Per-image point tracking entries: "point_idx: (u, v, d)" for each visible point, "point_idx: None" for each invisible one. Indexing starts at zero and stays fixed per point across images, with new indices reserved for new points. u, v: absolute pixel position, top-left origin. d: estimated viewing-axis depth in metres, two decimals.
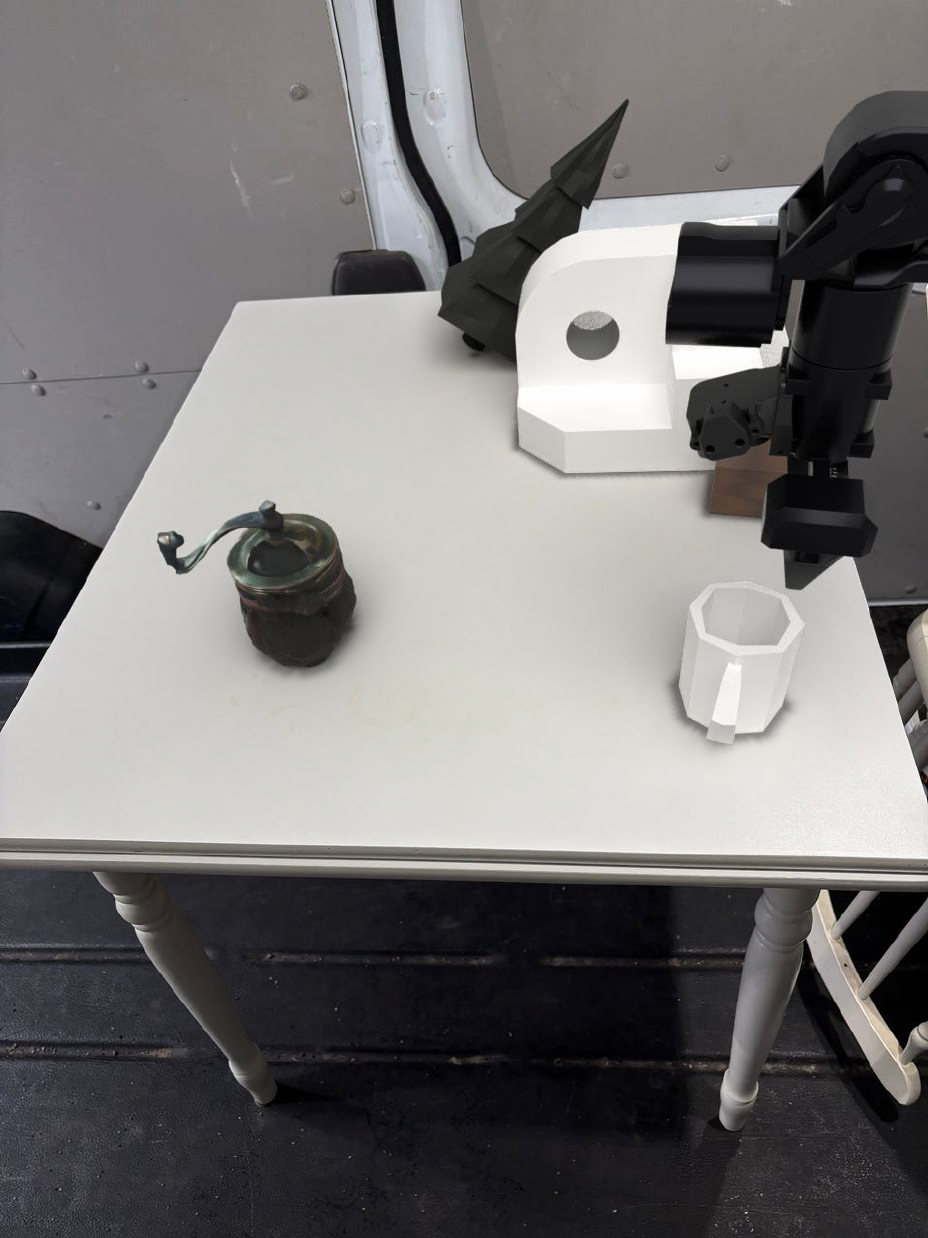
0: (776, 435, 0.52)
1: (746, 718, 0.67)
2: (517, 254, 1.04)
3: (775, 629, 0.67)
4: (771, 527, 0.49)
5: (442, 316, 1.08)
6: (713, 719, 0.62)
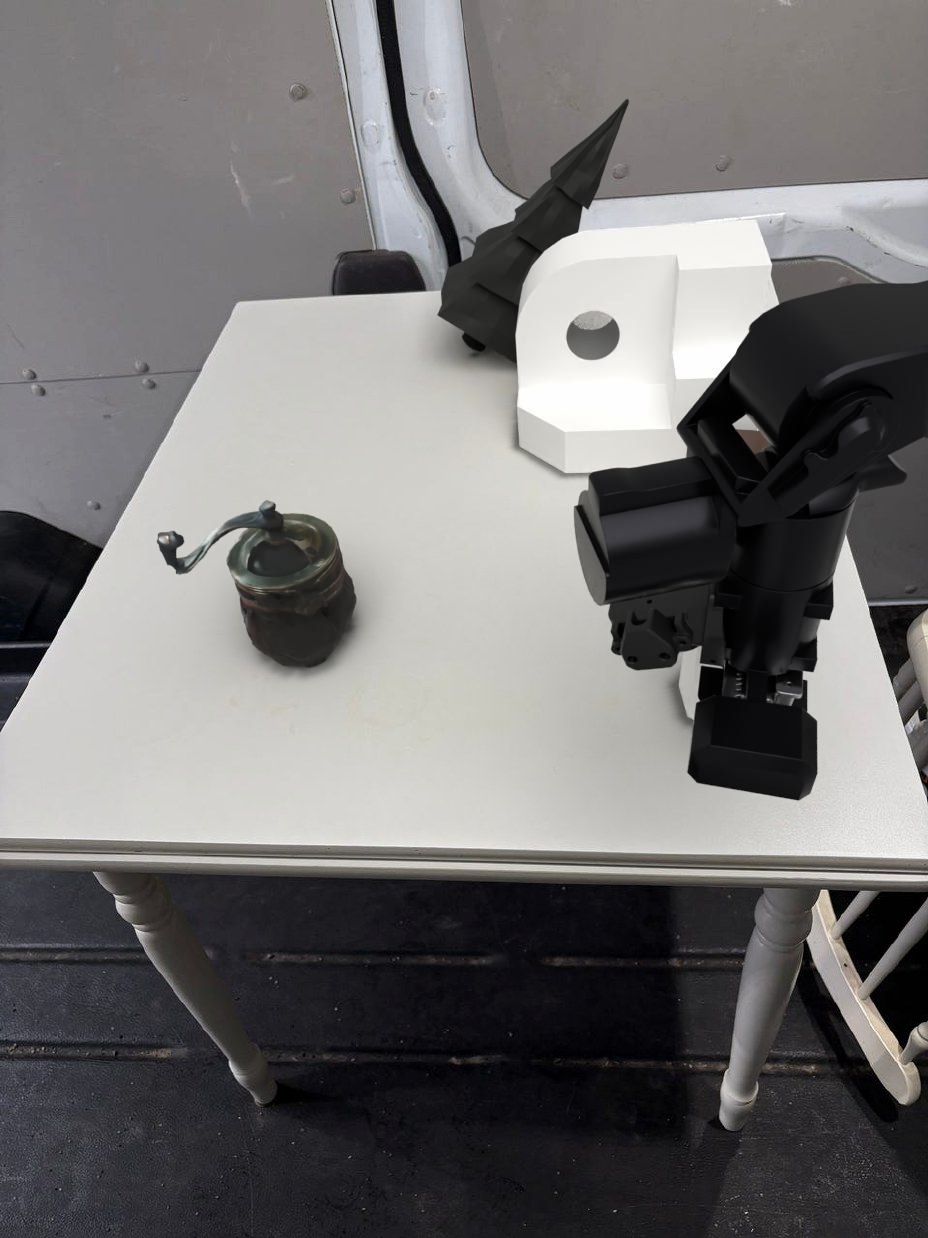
0: (706, 646, 0.46)
1: None
2: (517, 254, 1.04)
3: None
4: (697, 763, 0.43)
5: (442, 316, 1.08)
6: None
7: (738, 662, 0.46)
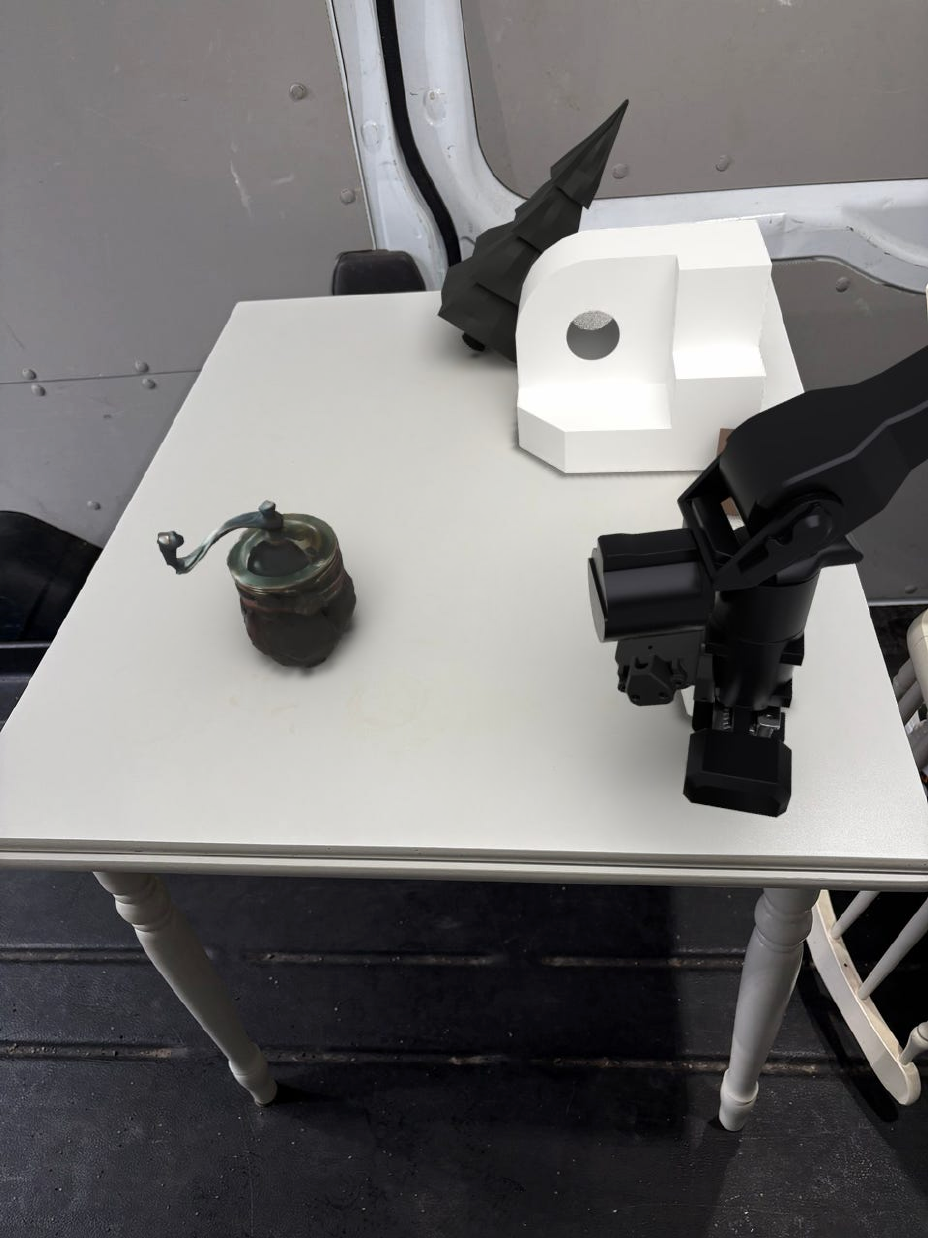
0: (699, 686, 0.54)
1: None
2: (517, 254, 1.04)
3: None
4: (691, 786, 0.51)
5: (442, 316, 1.08)
6: None
7: (725, 699, 0.54)
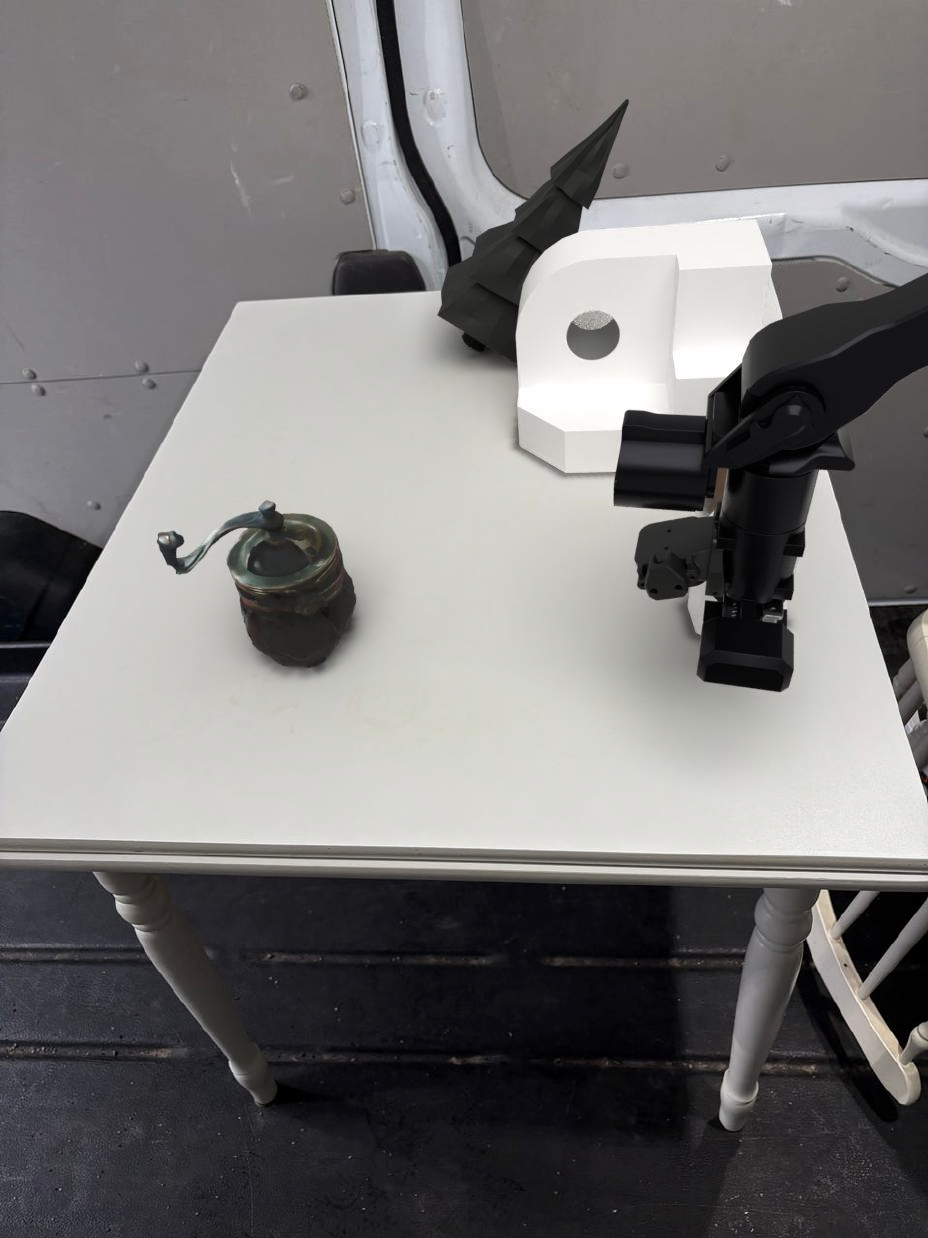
0: (710, 580, 0.60)
1: None
2: (517, 254, 1.04)
3: None
4: (704, 665, 0.57)
5: (442, 316, 1.08)
6: None
7: (734, 593, 0.61)
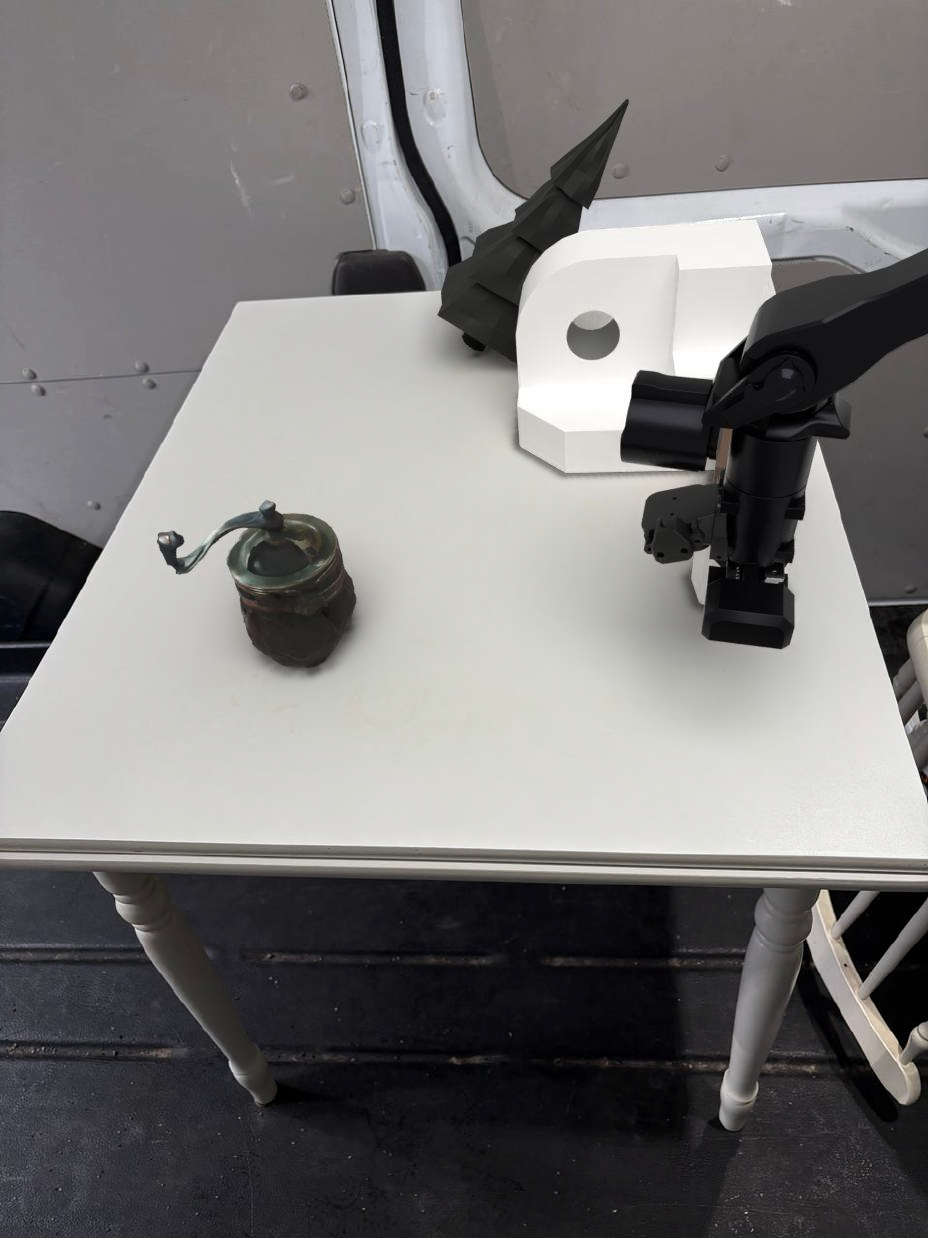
0: (714, 544, 0.62)
1: None
2: (517, 254, 1.04)
3: None
4: (709, 624, 0.60)
5: (442, 316, 1.08)
6: None
7: (737, 557, 0.63)
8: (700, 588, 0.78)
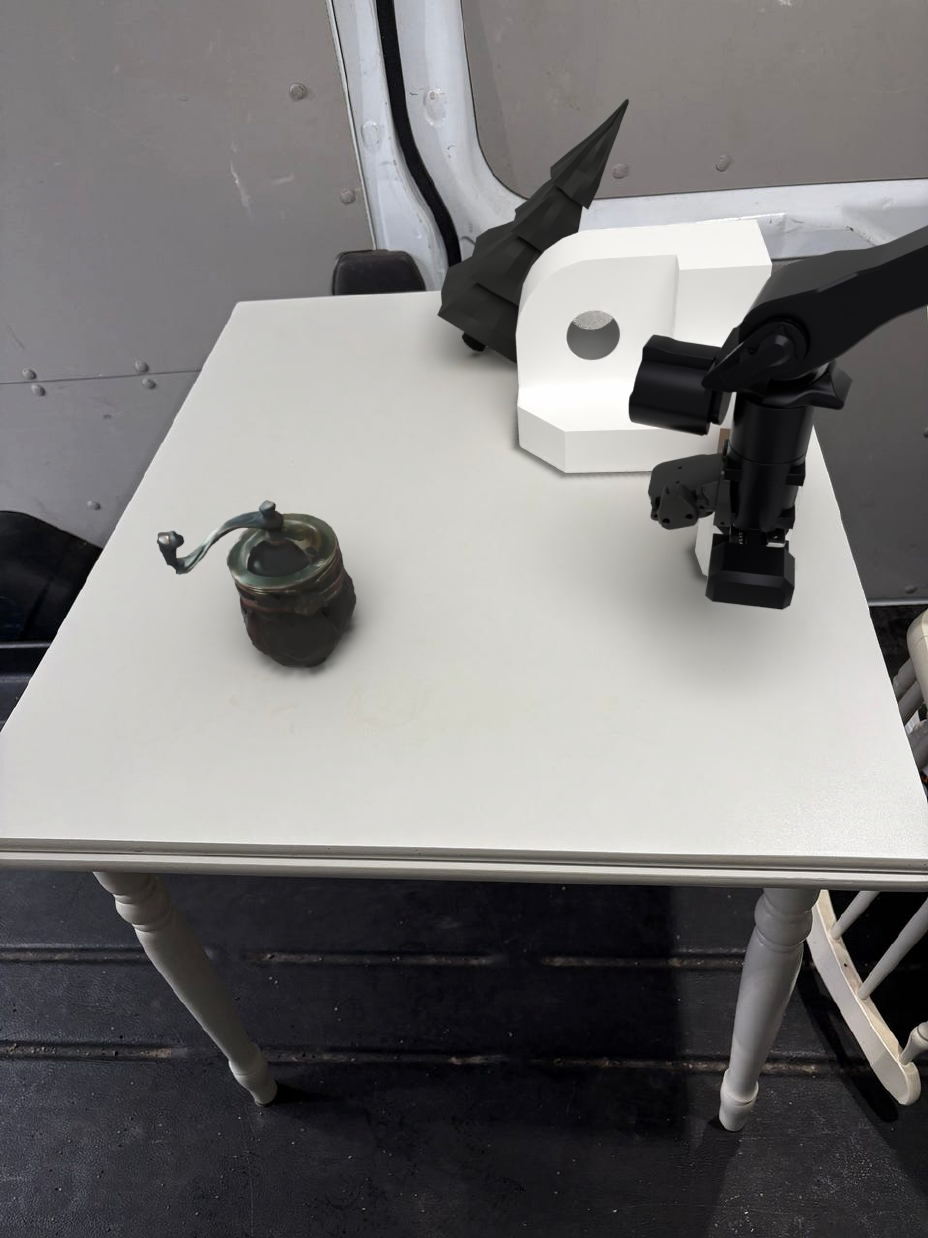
0: (718, 510, 0.65)
1: None
2: (517, 254, 1.04)
3: None
4: (712, 585, 0.63)
5: (442, 316, 1.08)
6: None
7: (740, 523, 0.66)
8: (704, 559, 0.81)
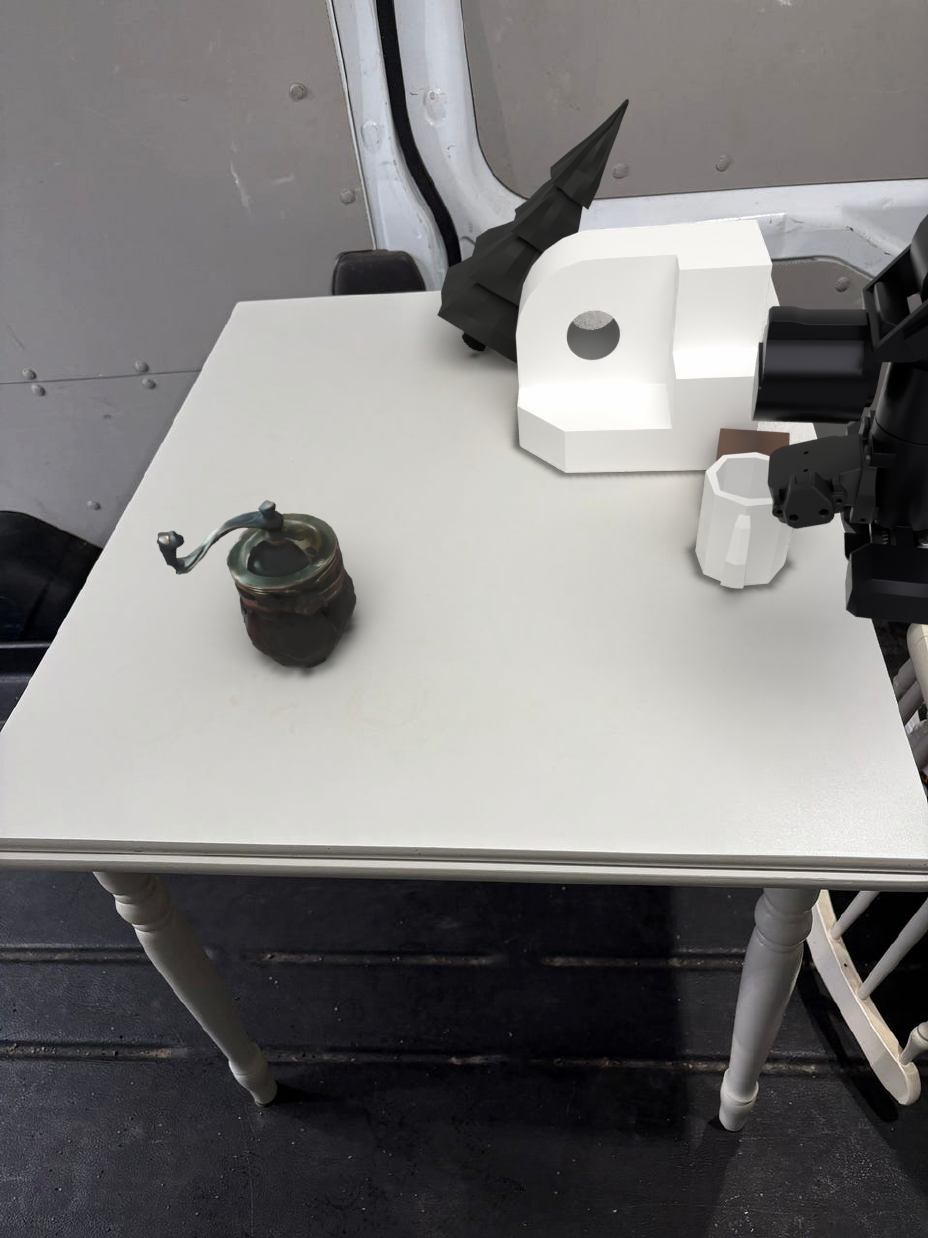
0: (859, 504, 0.53)
1: (754, 569, 0.79)
2: (517, 254, 1.04)
3: None
4: (858, 597, 0.50)
5: (442, 316, 1.08)
6: (727, 560, 0.74)
7: (885, 520, 0.54)
8: (704, 559, 0.81)
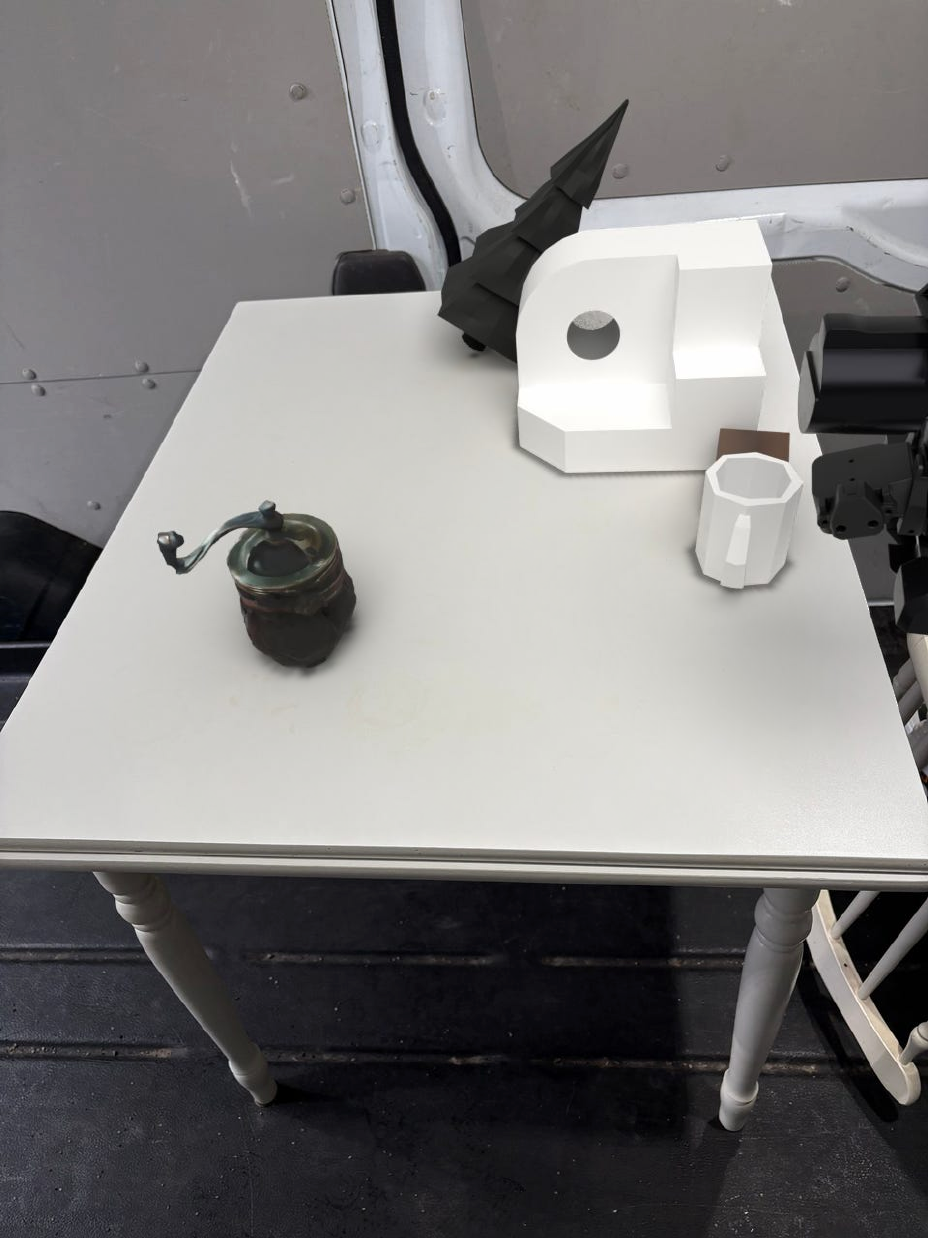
0: (909, 515, 0.51)
1: (754, 569, 0.79)
2: (517, 254, 1.04)
3: (779, 493, 0.79)
4: (911, 613, 0.49)
5: (442, 316, 1.08)
6: (727, 560, 0.74)
7: None
8: (704, 559, 0.81)
